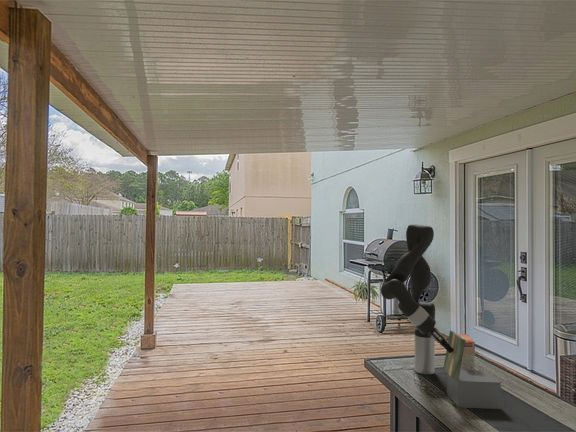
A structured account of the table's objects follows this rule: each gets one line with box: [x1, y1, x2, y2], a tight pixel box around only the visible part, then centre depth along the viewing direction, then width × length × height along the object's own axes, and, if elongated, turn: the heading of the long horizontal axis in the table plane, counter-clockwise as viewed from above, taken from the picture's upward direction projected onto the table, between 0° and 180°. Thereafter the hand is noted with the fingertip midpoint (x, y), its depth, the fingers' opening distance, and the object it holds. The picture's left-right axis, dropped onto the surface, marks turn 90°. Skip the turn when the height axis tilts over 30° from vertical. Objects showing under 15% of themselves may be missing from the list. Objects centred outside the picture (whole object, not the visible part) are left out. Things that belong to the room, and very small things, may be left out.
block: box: [446, 369, 502, 410], centre depth 169 cm, size 14×16×10 cm
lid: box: [443, 330, 466, 381], centre depth 170 cm, size 15×16×1 cm
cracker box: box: [457, 333, 476, 370], centre depth 187 cm, size 14×6×21 cm, turn 168°
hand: (451, 351), depth 170 cm, fingers closed
